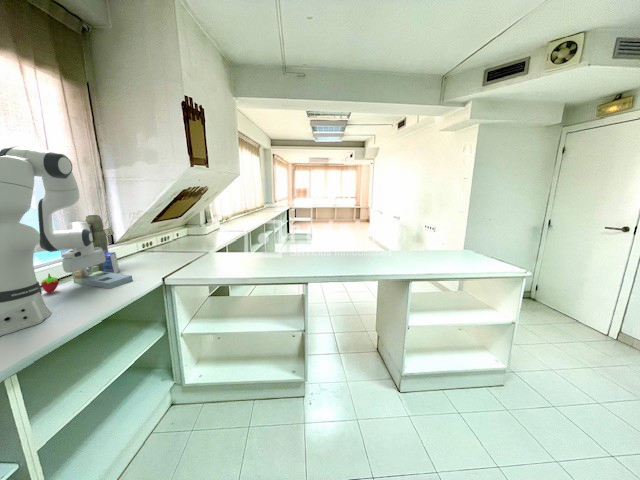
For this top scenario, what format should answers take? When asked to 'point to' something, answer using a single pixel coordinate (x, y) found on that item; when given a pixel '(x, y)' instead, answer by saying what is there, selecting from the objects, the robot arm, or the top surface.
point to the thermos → (97, 234)
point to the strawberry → (49, 284)
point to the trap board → (103, 279)
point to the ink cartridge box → (110, 263)
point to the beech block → (80, 274)
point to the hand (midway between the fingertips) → (88, 274)
